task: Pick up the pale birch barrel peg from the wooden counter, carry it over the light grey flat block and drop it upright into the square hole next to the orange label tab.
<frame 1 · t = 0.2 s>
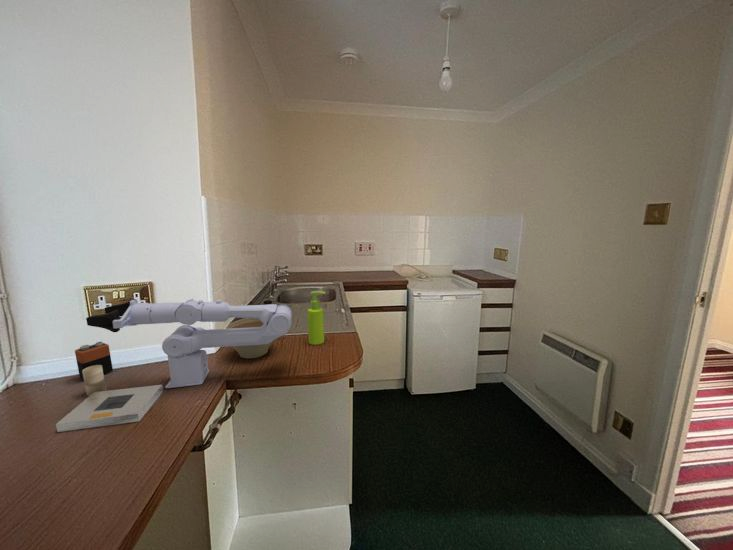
hand: (97, 315, 80), 21 cm above the countertop, tool horizontal, fingers open, 7 cm apart
barrel peg: (96, 391, 82), on the countertop
battery: (97, 375, 92), on the countertop
light grey flat block: (116, 409, 74), on the countertop
planter bowl: (253, 353, 106), on the countertop
soap dispenser: (317, 342, 116), on the countertop
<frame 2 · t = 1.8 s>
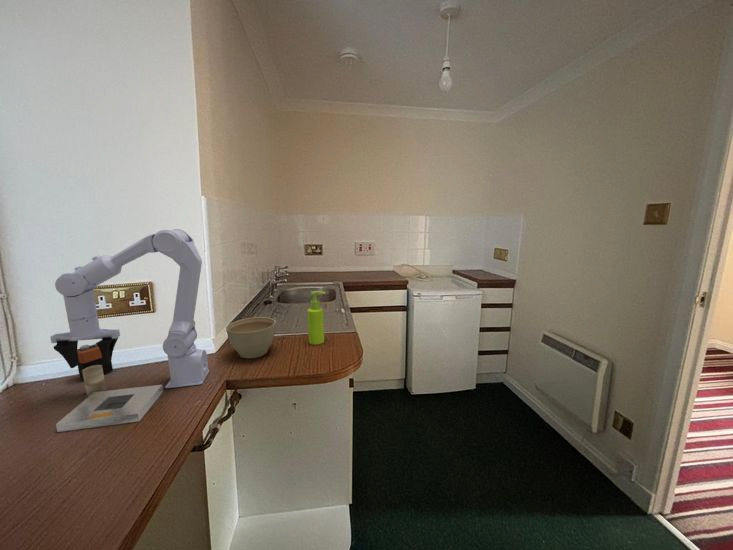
hand: (91, 364, 81), 8 cm above the countertop, tool pointing down, fingers open, 7 cm apart
nothing on the countertop moved.
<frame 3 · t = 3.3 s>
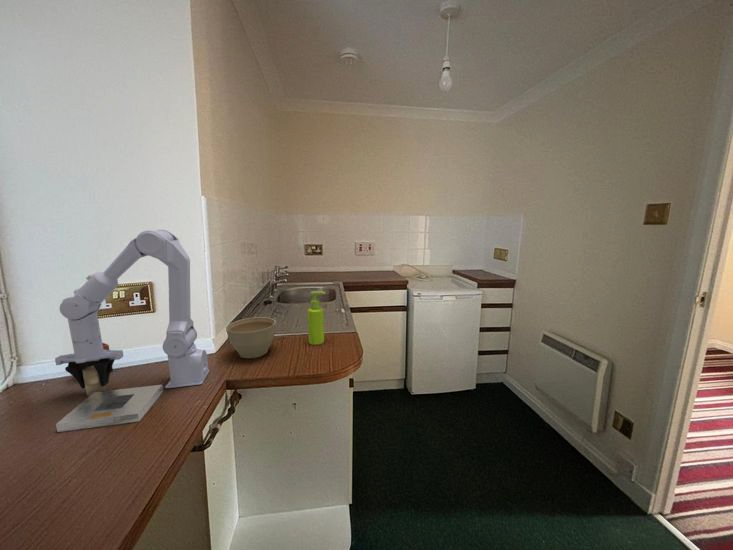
hand: (95, 385, 82), 2 cm above the countertop, tool pointing down, fingers closed on barrel peg, 4 cm apart
barrel peg: (96, 391, 82), on the countertop, touching gripper
everything else where it was.
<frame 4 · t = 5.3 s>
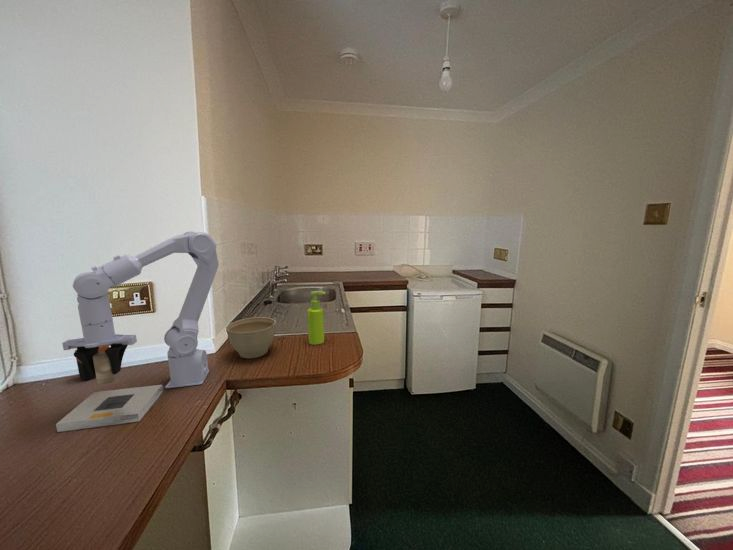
hand: (106, 373, 75), 9 cm above the countertop, tool pointing down, fingers closed on barrel peg, 4 cm apart
barrel peg: (107, 380, 75), point 7 cm above the countertop, touching gripper
everything else where it was.
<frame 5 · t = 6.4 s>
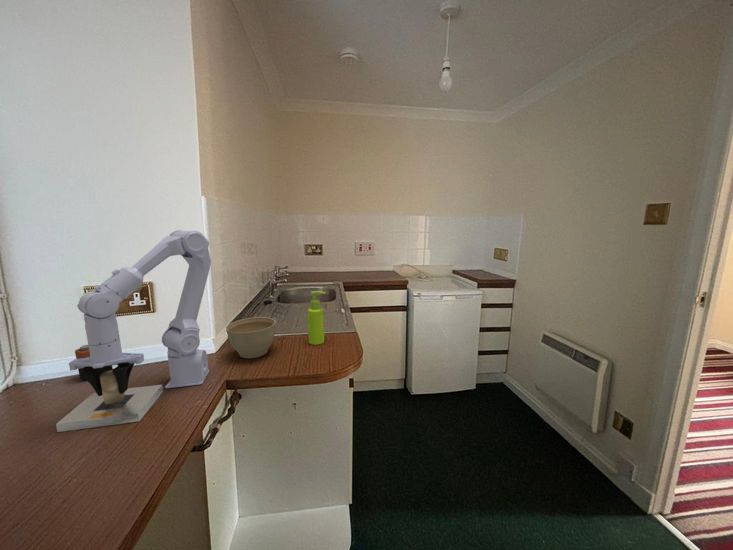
hand: (113, 392, 74), 5 cm above the countertop, tool pointing down, fingers closed on barrel peg, 4 cm apart
barrel peg: (114, 399, 74), point 3 cm above the countertop, touching gripper
everything else where it was.
when the fingers open (5 cm above the countertop, at t = 7.2 s): barrel peg drops 2 cm, resting on light grey flat block.
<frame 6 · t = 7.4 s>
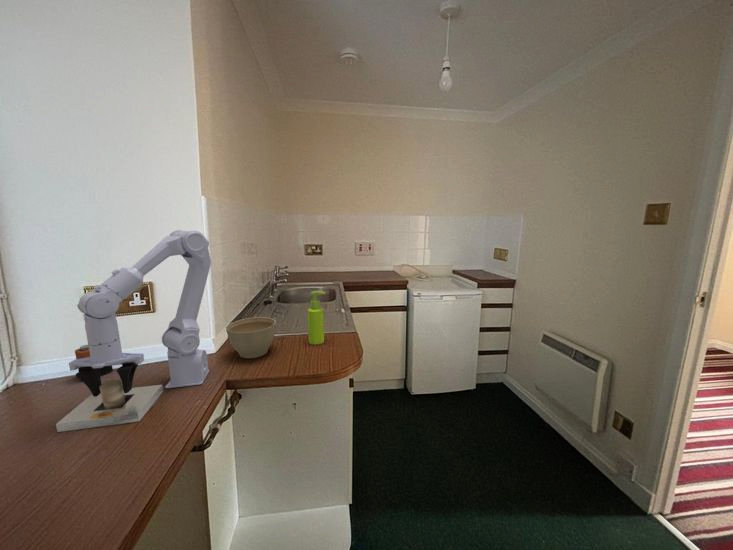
hand: (113, 392, 74), 5 cm above the countertop, tool pointing down, fingers open, 6 cm apart
barrel peg: (116, 408, 74), resting on light grey flat block, tilted 7°
everything else where it was.
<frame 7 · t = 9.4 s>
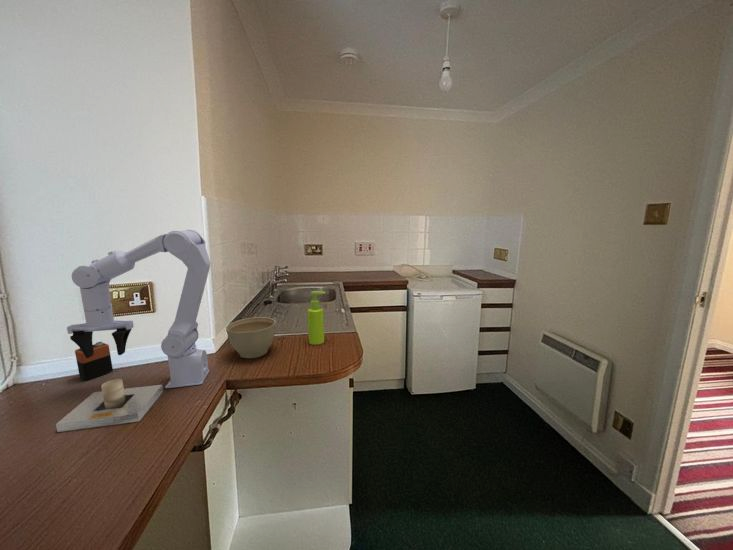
hand: (106, 355, 84), 9 cm above the countertop, tool pointing down, fingers open, 7 cm apart
barrel peg: (116, 408, 75), resting on light grey flat block
everything else where it was.
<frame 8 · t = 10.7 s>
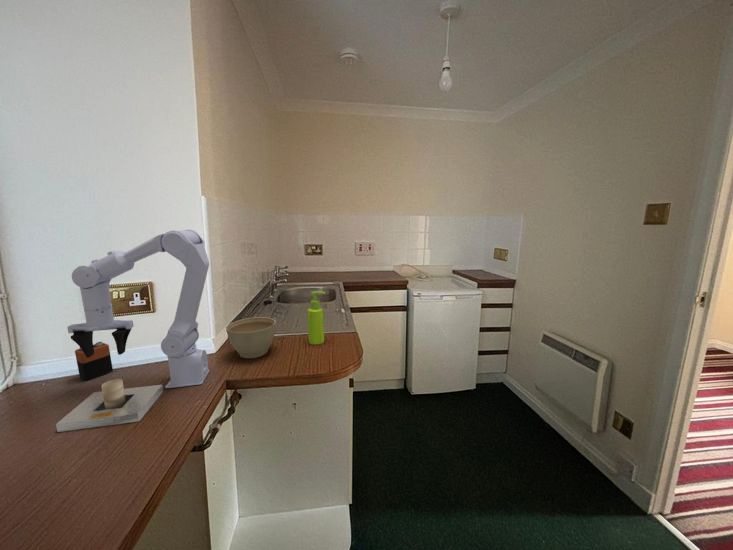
hand: (106, 354, 84), 9 cm above the countertop, tool pointing down, fingers open, 7 cm apart
nothing on the countertop moved.
at the end: barrel peg 0.1 cm off-centre on the light grey flat block, point 0.1 cm above the light grey flat block's base; barrel peg tilted 0°; the gripper is holding nothing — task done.
